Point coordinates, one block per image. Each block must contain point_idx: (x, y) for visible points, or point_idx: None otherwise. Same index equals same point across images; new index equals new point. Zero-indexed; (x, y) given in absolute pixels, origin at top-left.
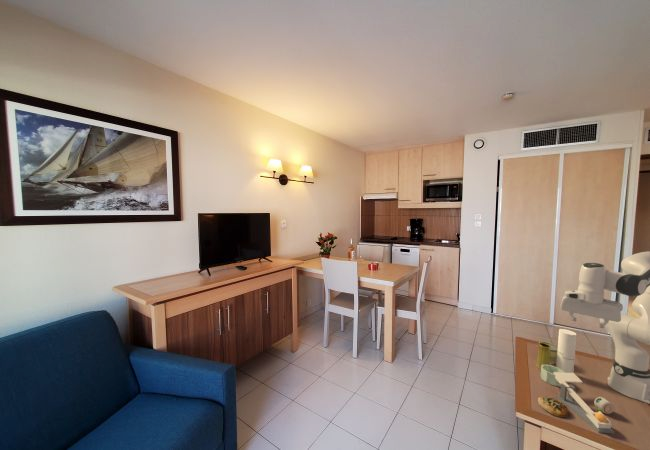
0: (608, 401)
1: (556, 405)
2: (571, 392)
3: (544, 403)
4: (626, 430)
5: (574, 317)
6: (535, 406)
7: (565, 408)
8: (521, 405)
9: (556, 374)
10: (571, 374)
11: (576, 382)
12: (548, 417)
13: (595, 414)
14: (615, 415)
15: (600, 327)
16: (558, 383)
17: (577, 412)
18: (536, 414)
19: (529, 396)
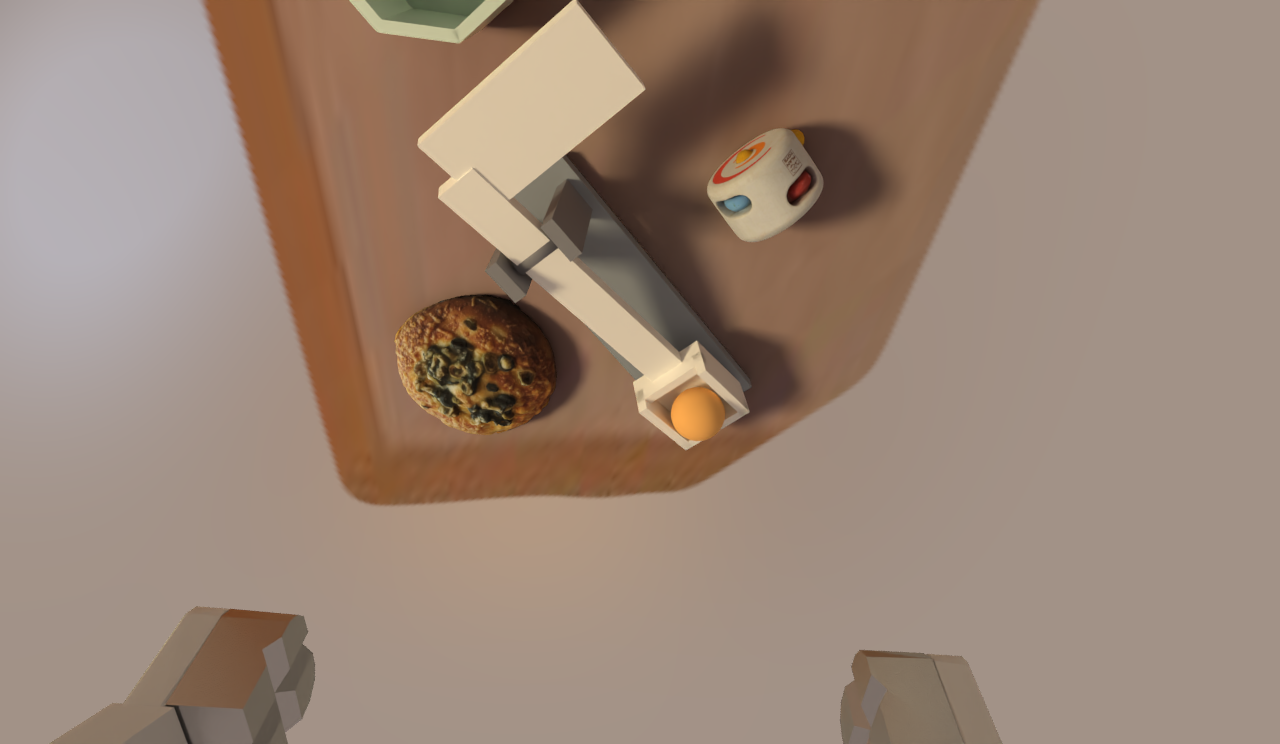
0: (791, 208)
1: (487, 417)
2: (559, 290)
3: (431, 408)
4: (828, 306)
5: (195, 721)
6: (399, 408)
7: (534, 389)
8: (338, 447)
9: (442, 162)
10: (560, 48)
11: (599, 120)
12: (466, 459)
13: (673, 415)
14: (821, 170)
15: (851, 719)
16: (491, 19)
17: (599, 339)
18: (414, 472)
19: (351, 327)
